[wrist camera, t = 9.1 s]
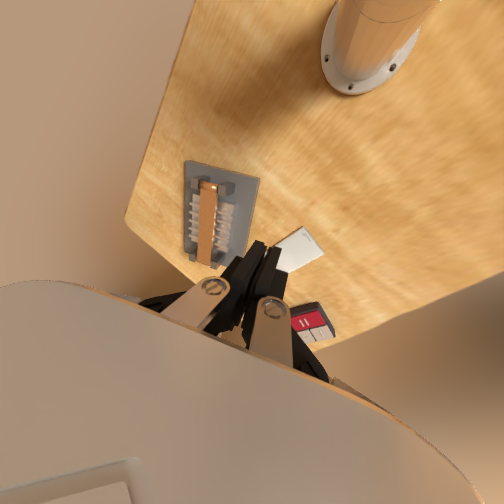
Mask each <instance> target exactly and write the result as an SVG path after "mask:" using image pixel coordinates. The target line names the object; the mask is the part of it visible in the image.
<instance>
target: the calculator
mask: <svg viewBox="0 0 504 504" xmlns="http://www.w3.org/2000/svg"><path fill="white" fill-rule="evenodd" d="M290 316H291V325H292V327H293V328H294V329H295V331H296V332H297V333H298V335H299V336H300V337H301V339H302V340H303V341H304V343H305V344H307V343H312V342H315V341H322V340H327V339H332V338H334V337H335V331H334V328H333V326H332V324H331V323H330V321H329V319H328V317H327V316H326V314H325V312H324V310H323V309H322V307H321V305H320V304H319V302H313V303H309V304H305V305H302V306H298V307H294V308H291V309H290Z"/></svg>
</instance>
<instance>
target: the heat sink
mask: <svg viewBox="0 0 504 504" xmlns="http://www.w3.org/2000/svg"><path fill="white" fill-rule="evenodd" d="M201 181H206V182H210V177H209V176H205V175H202V176H197V177H191V188H193V189H197V190H198V189H200V182H201ZM234 192H235V183H232V182H226V183H223V184H220V185H218V194H217V195H218V196H222V197H226V196H229V195H231V194H233V193H234ZM189 205H192V210H190V211H189V213H190V214H192V218H190V219H189V222H192V225H191V226H190V227H189V229H190V230H192V233H190V234H189V237H191V241H194V242H197V243H198V230H199V209H200V192H197V193H193V201H192V202H190V203H189ZM237 206H238V203H236V202H232V201H229V200H225V199H222V198H218V201H217V211H216V221H215V232H214V242H213V248H215V249H218V250H221V251H224V252H228V251H229V250H230V249H231V245H232V238H233V232H234V225H235V219H236V213H237ZM197 250H198V247H197V248H196V249H194V250H193V251H192V252H190V253H189V260H190V261H193V262H195V261H196V260H197ZM225 255H226V253H223V252H219V253H218V254H217V255H216V257H215V258H214V259H213V260H212V261H211V267H210V268H213V269H217V268H218V267H219V266H220V265H221V264H222V262H223V261H224V260H225Z"/></svg>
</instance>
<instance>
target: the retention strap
mask: <svg viewBox="0 0 504 504" xmlns="http://www.w3.org/2000/svg"><path fill="white" fill-rule="evenodd" d="M217 194H218V185H217V184H213V183H210V182H206V181H201V182H200V209H199V230H198V250H197V262H199V263H202V264H205V265H208V266H211V261H212V252H213V242H214V232H215V221H216V211H217V201H218V195H217Z"/></svg>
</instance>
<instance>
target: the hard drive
mask: <svg viewBox="0 0 504 504" xmlns="http://www.w3.org/2000/svg"><path fill="white" fill-rule="evenodd" d="M275 246H276V247H279V248H282V251H281V254H280V257H279V260H278V264H277V267H276V269H279V270H282V271H285V272H288V274H289V273H291V272H293V271H294V270H296V269H298V268H300V267H302V266H304V265H306V264H307V263H309V262H311V261H313V260H315V259H317V258H318V257H320V256H322V255H324V254H325V252H324V251H323V250H322V248H321V247H320V246H319V244H318V243H317V242H316V241H315V239H314V238H313V237H312V235H311V234H310V233H309V232H308V230H307V229H306V228H305V226H303V227H301V228H300V229H298V230H297V231H295V232H294V233H292V234H291V235H289V236H288V237H286V238H285V239H283V240H282V241H280V242H279V243H278V244H276V245H275ZM272 248H273V247H272ZM267 251H268V250H267ZM267 251H266V252H265V255H266V253H267ZM264 257H265V256H264Z"/></svg>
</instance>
